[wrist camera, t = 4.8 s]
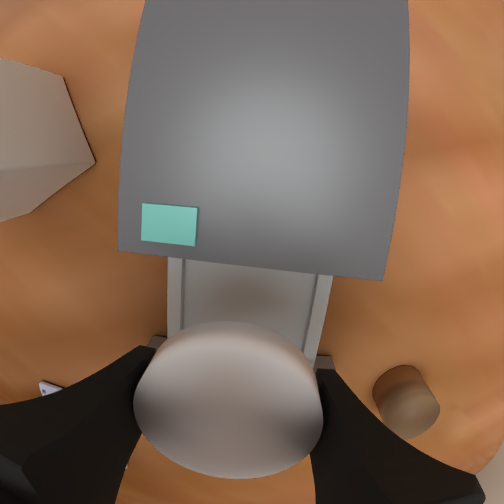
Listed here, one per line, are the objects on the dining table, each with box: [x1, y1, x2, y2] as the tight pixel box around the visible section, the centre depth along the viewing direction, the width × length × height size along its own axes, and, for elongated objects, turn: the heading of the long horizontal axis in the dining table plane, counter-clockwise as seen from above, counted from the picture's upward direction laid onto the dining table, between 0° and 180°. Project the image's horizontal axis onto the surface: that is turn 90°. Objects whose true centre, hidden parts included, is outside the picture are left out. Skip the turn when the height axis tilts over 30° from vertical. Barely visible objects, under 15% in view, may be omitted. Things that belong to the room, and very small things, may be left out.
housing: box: [118, 0, 410, 281], centre depth 14 cm, size 14×12×6 cm
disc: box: [133, 321, 323, 479], centre depth 9 cm, size 6×6×2 cm
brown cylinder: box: [373, 365, 440, 440], centre depth 19 cm, size 4×4×4 cm
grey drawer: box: [147, 257, 336, 375], centre depth 17 cm, size 14×12×4 cm
